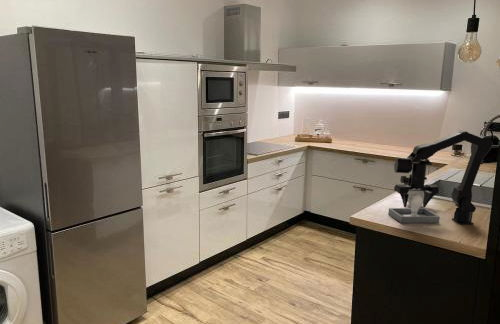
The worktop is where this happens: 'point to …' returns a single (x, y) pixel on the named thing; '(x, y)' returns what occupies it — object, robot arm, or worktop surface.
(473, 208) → the robot arm
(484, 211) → the worktop surface
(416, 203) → the lightbulb
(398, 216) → the tray
